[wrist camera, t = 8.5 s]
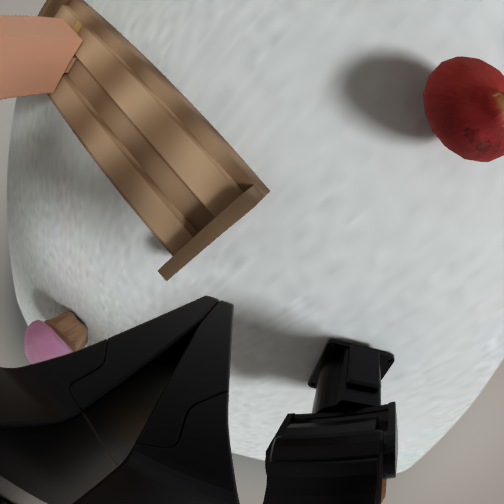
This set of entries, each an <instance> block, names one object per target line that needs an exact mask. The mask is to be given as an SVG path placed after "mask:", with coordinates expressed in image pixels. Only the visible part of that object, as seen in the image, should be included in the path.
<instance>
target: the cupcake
mask: <svg viewBox="0 0 504 504" xmlns="http://www.w3.org/2000/svg"><path fill="white" fill-rule="evenodd" d="M87 340H88V337H87V327H86V326H85V325H84V324H83V323H81V322H80V321H79V320H78V319H77V318H76V316H75V315H74V314H73V313H72V312H66V313H63V314H61V315H59V316H57V317H55V318H53V319H51V320H47V321H45V322H42V321H40V320H36V321H34V322H32V323H31V324H30V325H29V326H28V327H27V329H26V331H25V354H26V356H27V358H28V360H29V362H30V363H31V364H35V363H38V362H42V361H45V360H49V359H52V358H56V357H59V356H62V355H65V354H69V353H72V352H75V351H78V350H80V349H83V348H84V346H85V345H86V343H87Z"/></svg>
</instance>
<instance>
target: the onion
mask: <svg viewBox="0 0 504 504" xmlns="http://www.w3.org/2000/svg"><path fill="white" fill-rule="evenodd" d="M423 96H424V105H425V114H426V116H427V119H428V121H429V123H430V126H431V128H432V131H433V132H434V133H435V134H436V136H437V137H438V138H439V139H440V141H441V142H442V143H443V144H444V146H446V147H447V148H448V149H450V150H451V151H453V152H454V153H456V154H458V155H459V156H461V157H462V158H464V159H468V160H474V161H480V162H489V161H492V160H494V159H496V158H499V157H501V156H503V155H504V76H503V74H502V73H501V72H500V71H499V70H497V69H496V68H494V67H493V66H491V65H489V64H487V63H486V62H484V61H482V60H480V59H476V58H469V57H455V58H452V59H449V60H446V61H443V62H441V64H440V65H439V66H438V67H437V68H436V69H435V70H434V71H433V72H432V73H431V74H430V76H429V78H428V81H427V84H426V88H425V91H424V94H423Z"/></svg>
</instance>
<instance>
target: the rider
mask: <svg viewBox="0 0 504 504" xmlns="http://www.w3.org/2000/svg"><path fill="white" fill-rule="evenodd" d="M82 41H83V40H82V39H81V38H80V37H79V36H78V34H77V33H76V32H75V31H74V30H73V29H72V28H71V27H70V26H69V25H68V24H67V23H66V22H65V21H64V20H63V19H60V18H52V17H41V16H27V15H0V100H1V99H7V98H13V97H19V96H27V95H35V94H44V93H54V91H55V89H56V87H57V85H58V83H59V81H60V79H61V77H62V75H63V73H68V72H69V71H70V69H71V67H72V65H73V64H74V62H75V60H76V59H77V58H76V57H75V56H74V54H75V53H76V51H77V49H78V48H79V46H80V44H81V43H82Z"/></svg>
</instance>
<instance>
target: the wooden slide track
mask: <svg viewBox="0 0 504 504" xmlns="http://www.w3.org/2000/svg"><path fill="white" fill-rule="evenodd" d="M38 16H41V17H52V18H60V19H63V20H64V21H65V22H66V23H67V24H68V25H69V26H70V27H71V28H72V29H73V30H74V31H75V32H76V33H77V34H78V36H79V37H80V38H81V39H82V40H83V41H82V43H81V44H80V46H79V48H78V49H77V51H76V53H75V54H74V56H75V57H76V58H77V59H76V60H75V62H74V64H73V65H72V67H71V69H70V71H69V72H68V73H63V75H62V77H61V79H60V81H59V83H58V85H57V87H56V89H55V91H54V93H47V94H48V96H49V97H50V99H51V100H52V102H53V103H54V105H55V106H56V108H57V109H58V111H59V112H60V113H61V115H62V116H63V118H64V119H65V121H66V122H67V123H68V125H69V126H70V128H71V129H72V130H73V132H74V133H75V135H76V136H77V137H78V139H79V140H80V141H81V143H82V144H83V145H84V147H85V148H86V150H87V151H88V152H89V154H90V155H91V156H92V158H93V159H94V160H95V161H96V163H97V164H98V165H99V167H100V168H101V169H102V171H103V172H104V173H105V175H106V176H107V177H108V178H109V180H110V181H111V182H112V183H113V185H114V186H115V187H116V189H117V190H118V191H119V192H120V194H121V195H122V196H123V197H124V199H125V200H126V201H127V202H128V203H129V205H130V206H131V207H132V208H133V210H134V211H135V212H136V213H137V214H138V216H139V217H140V218H141V219H142V220H143V222H144V223H145V224H146V225H147V226H148V228H149V229H150V230H151V231H152V232H153V234H154V235H155V236H156V237H157V238H158V239H159V241H160V242H161V243H162V244H163V245H164V246H165V248H166V249H167V250H168V251H169V252H170V253H171V254H172V256H173V257H172V258H171V259H170V260H169V261H168V262H166V263H165V264H164V265H163V266H162V267H161V268H160V269H159V270H158V272H159V273H160V274H161V275H162V277H163V278H164V279H165V280H166V281H167V280H169V279H170V278H171V277H172V276H173V275H174V274H175V273H177V272H178V271H179V270H180V269H181V268H182V267H183V266H185V265H186V264H187V263H188V262H189V261H190V260H192V259H193V258H194V257H195V256H196V255H197V254H199V253H200V252H201V251H202V250H203V249H204V248H206V247H207V246H208V245H209V244H210V243H212V242H213V241H214V240H215V239H216V238H217V237H219V236H220V235H221V234H222V233H223V232H225V231H226V230H227V229H228V228H229V227H231V226H232V225H233V224H234V223H235V222H237V221H238V220H239V219H240V218H241V217H243V216H244V215H245V214H246V213H248V212H249V211H250V210H251V209H252V208H254V207H255V206H256V205H257V204H258V203H259V202H260V201H261V200H262V199H263V198H264V197H265V196H266V195H267V194H268V193H269V192H270V190H269V189H268V188H267V187H266V186H265V185H264V183H263V182H262V181H261V180H260V179H259V178H258V176H257V175H256V174H255V173H254V172H253V171H252V170H251V168H250V167H249V166H248V165H247V164H246V163H245V162H244V160H243V159H242V158H241V157H240V156H239V155H238V154H237V153H236V151H235V150H234V149H233V148H232V147H231V146H230V145H229V144H228V143H227V141H226V140H225V139H224V138H223V137H222V136H221V135H220V134H219V133H218V132H217V130H216V129H215V128H214V127H213V126H212V125H211V124H210V123H209V122H208V121H207V120H206V119H205V117H204V116H203V115H202V114H201V113H200V112H199V111H198V110H197V109H196V108H195V107H194V106H193V105H192V104H191V103H190V102H189V101H188V100H187V98H186V97H185V96H184V95H183V94H182V93H181V92H180V91H179V90H178V89H177V88H176V87H175V86H174V85H173V84H172V83H171V82H170V81H169V80H168V79H167V78H166V77H165V76H164V75H163V74H162V73H161V72H160V71H159V70H158V69H157V68H156V67H155V66H154V65H153V64H152V63H151V62H150V61H149V60H148V59H147V58H146V57H145V56H144V55H143V54H142V53H141V52H140V51H139V50H138V49H137V48H135V47H134V46H133V45H132V44H131V43H130V42H129V41H128V40H127V39H126V38H125V37H124V36H123V35H122V34H121V33H120V32H118V31H117V30H116V29H115V28H114V27H113V26H112V25H111V24H110V23H109V22H107V21H106V20H105V19H104V18H103V17H102V16H101V15H100V14H99V13H97V12H96V11H95V10H94V9H93V8H92V7H91V6H89V5H88V4H87V3H86V2H85V1H84V0H47V1H46V2H45V4H44V6H43V8H42V9H41V11H40V12H39V14H38Z"/></svg>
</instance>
